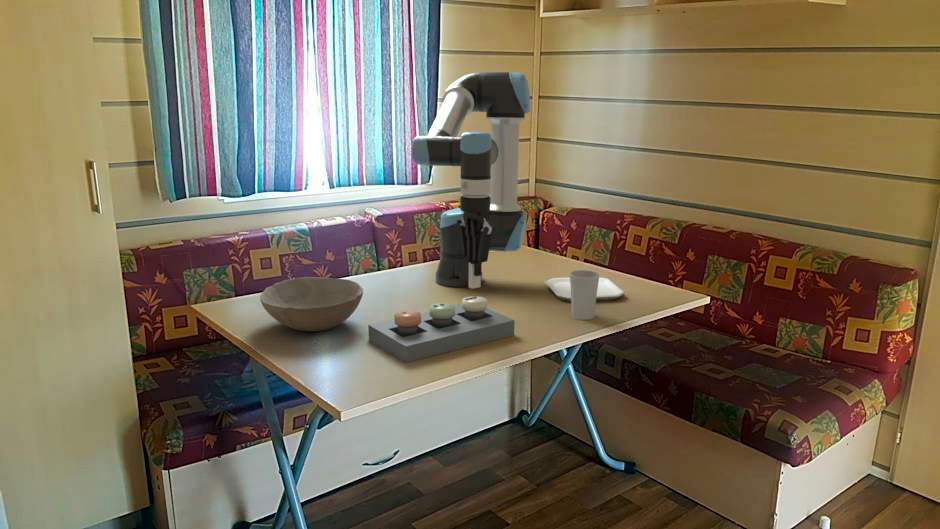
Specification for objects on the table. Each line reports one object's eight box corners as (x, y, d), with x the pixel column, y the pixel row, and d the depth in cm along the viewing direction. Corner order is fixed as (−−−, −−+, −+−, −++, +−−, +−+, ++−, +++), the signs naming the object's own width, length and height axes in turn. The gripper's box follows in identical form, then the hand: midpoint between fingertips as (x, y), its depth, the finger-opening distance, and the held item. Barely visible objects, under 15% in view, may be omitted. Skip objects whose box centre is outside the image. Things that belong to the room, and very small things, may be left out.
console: (368, 339, 181) (368, 324, 180) (472, 316, 199) (472, 302, 198) (405, 362, 167) (405, 346, 166) (514, 334, 185) (514, 320, 184)
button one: (389, 332, 178) (389, 312, 176) (412, 327, 181) (412, 307, 180) (403, 339, 172) (402, 319, 171) (426, 334, 176) (425, 314, 175)
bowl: (316, 352, 173) (314, 312, 171) (240, 331, 187) (237, 294, 184) (385, 321, 195) (384, 285, 192) (312, 305, 208) (310, 271, 206)
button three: (457, 316, 189) (457, 298, 188) (477, 312, 192) (477, 294, 191) (471, 323, 184) (471, 304, 183) (491, 318, 187) (492, 300, 186)
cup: (596, 321, 196) (599, 278, 193) (566, 319, 197) (568, 276, 194) (597, 312, 203) (599, 271, 200) (569, 310, 205) (570, 269, 202)
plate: (559, 305, 210) (560, 297, 210) (542, 285, 230) (542, 278, 230) (628, 302, 214) (628, 294, 213) (604, 282, 233) (605, 275, 233)
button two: (424, 324, 183) (424, 305, 182) (445, 319, 187) (445, 300, 186) (438, 331, 178) (438, 312, 177) (460, 326, 182) (460, 307, 180)
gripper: (448, 193, 183) (448, 283, 189) (478, 200, 173) (477, 295, 178) (472, 191, 187) (471, 279, 193) (503, 197, 177) (501, 290, 183)
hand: (474, 287), depth 186 cm, fingers closed
